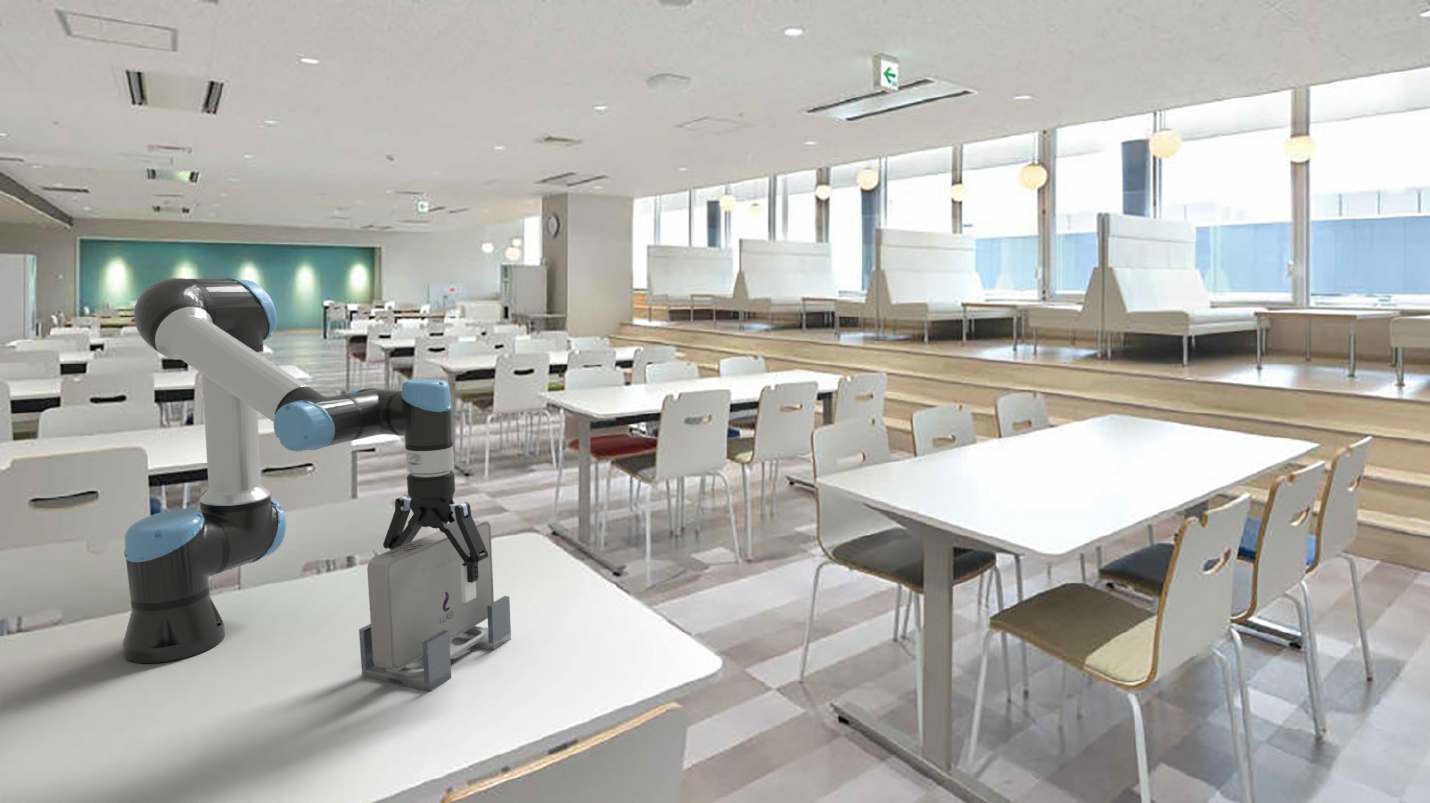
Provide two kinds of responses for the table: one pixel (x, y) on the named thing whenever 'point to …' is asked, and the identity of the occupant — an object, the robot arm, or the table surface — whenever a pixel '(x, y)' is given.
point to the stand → (438, 650)
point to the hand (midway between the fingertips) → (437, 594)
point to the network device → (424, 599)
